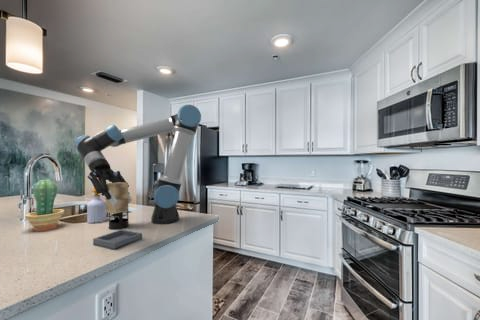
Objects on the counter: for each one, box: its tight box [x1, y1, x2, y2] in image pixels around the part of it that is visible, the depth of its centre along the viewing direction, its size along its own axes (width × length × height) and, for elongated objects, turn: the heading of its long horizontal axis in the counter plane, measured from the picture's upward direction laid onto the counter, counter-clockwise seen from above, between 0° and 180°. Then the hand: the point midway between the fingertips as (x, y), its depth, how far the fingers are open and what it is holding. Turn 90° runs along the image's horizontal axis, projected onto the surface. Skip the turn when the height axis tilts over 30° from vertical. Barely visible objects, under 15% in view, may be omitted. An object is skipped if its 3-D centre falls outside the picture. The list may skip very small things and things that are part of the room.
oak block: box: [105, 182, 129, 214], centre depth 94 cm, size 6×6×12 cm
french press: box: [107, 210, 130, 231], centre depth 116 cm, size 12×9×23 cm
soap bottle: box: [86, 178, 107, 224], centre depth 126 cm, size 9×9×25 cm
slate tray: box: [92, 229, 143, 251], centre depth 94 cm, size 13×13×2 cm
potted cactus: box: [24, 179, 65, 232], centre depth 114 cm, size 15×15×25 cm
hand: (122, 202), depth 93 cm, fingers closed on oak block, 6 cm apart
